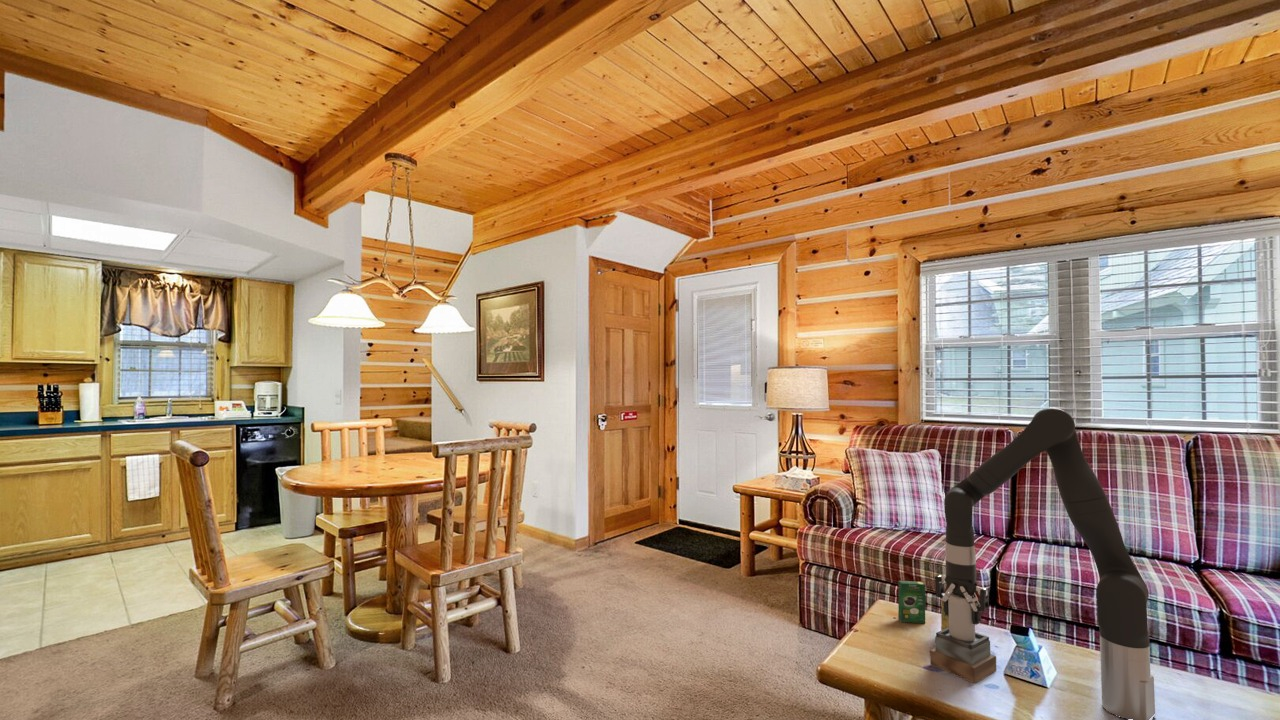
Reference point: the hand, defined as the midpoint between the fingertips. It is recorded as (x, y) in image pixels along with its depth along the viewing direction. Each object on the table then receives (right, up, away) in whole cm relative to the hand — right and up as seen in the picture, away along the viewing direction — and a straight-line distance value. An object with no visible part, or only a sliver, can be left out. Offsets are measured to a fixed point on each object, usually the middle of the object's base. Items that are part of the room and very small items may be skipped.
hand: (961, 619), depth 158 cm
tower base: (0, -13, -1) cm, 13 cm away
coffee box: (0, -15, +30) cm, 33 cm away
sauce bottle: (+7, -14, +17) cm, 24 cm away
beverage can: (0, -6, 0) cm, 6 cm away
